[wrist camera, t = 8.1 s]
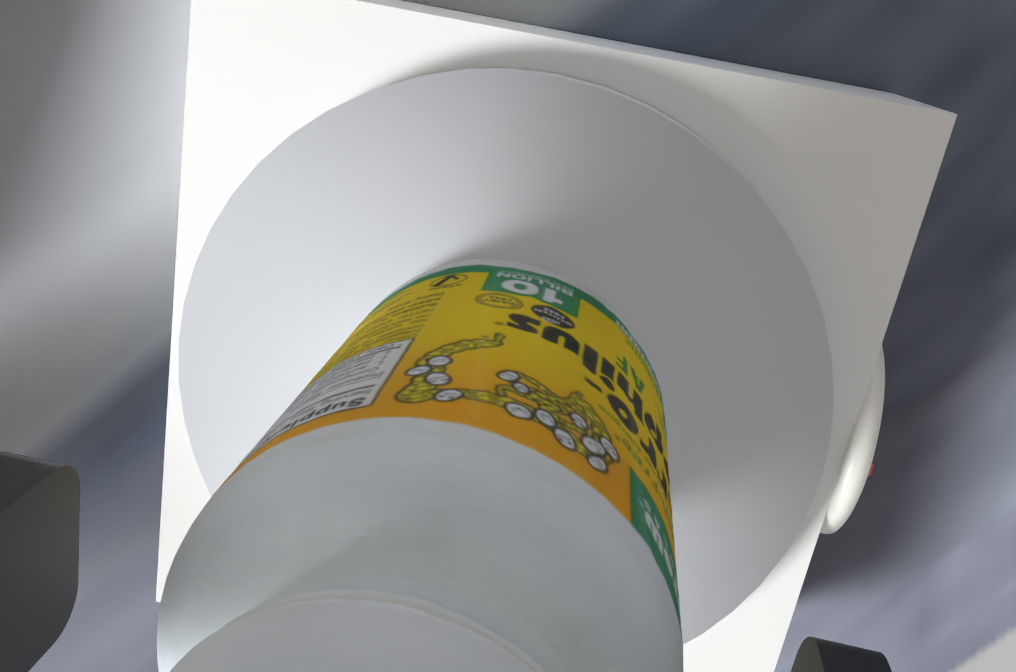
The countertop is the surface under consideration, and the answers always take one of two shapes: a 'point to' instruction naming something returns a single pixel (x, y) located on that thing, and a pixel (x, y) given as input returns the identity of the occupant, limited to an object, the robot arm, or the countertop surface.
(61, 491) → the robot arm
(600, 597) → the supplement bottle
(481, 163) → the kitchen scale
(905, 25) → the countertop surface
